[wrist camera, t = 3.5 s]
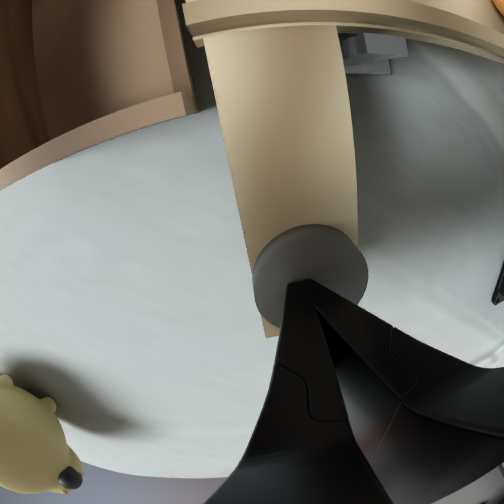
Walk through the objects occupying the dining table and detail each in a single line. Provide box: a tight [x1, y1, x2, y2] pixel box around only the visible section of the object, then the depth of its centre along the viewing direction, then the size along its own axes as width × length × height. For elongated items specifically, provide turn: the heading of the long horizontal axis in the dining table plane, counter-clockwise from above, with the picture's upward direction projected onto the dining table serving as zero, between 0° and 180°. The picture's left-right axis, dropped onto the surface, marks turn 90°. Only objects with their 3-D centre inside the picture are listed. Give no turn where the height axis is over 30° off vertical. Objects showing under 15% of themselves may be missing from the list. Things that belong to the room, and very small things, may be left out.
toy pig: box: [0, 375, 83, 494], centre depth 13 cm, size 10×12×11 cm
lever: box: [182, 0, 504, 338], centre depth 6 cm, size 15×16×2 cm
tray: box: [0, 0, 199, 190], centre depth 5 cm, size 7×10×4 cm
